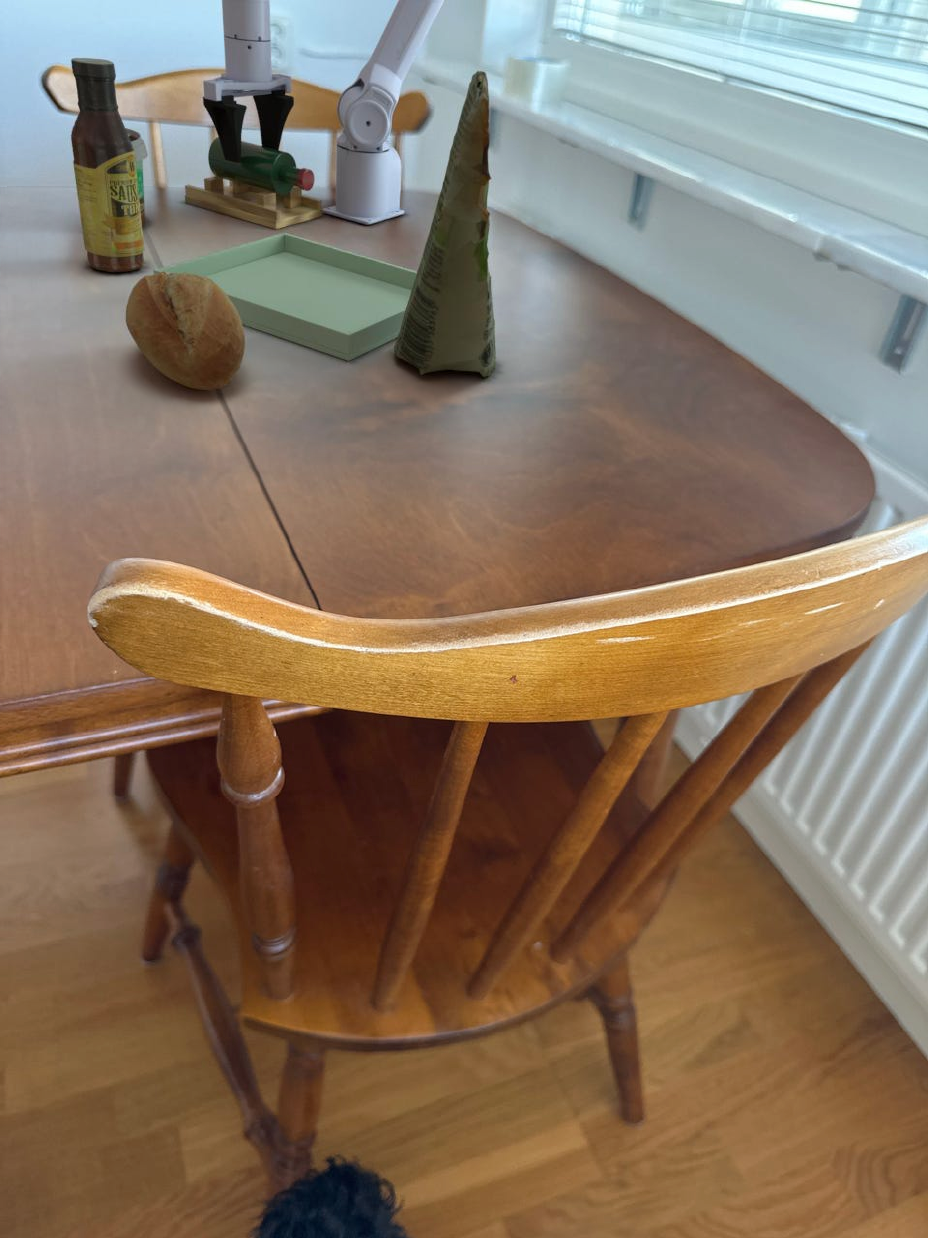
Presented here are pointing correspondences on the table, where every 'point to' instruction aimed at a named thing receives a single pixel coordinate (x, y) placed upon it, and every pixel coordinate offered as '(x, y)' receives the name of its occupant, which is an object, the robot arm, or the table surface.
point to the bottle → (260, 168)
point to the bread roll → (186, 329)
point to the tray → (309, 292)
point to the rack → (254, 203)
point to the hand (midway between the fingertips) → (251, 157)
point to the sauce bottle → (105, 172)
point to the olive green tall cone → (456, 259)
